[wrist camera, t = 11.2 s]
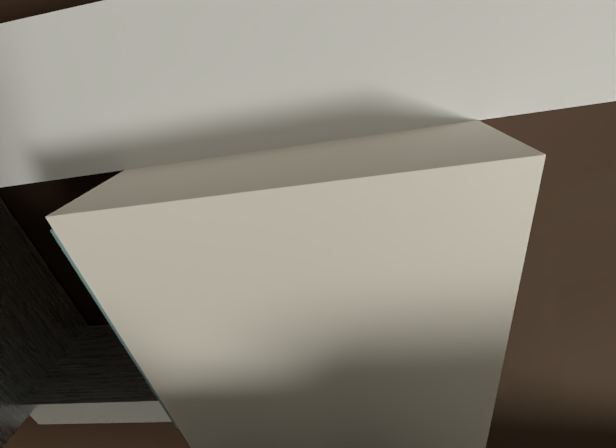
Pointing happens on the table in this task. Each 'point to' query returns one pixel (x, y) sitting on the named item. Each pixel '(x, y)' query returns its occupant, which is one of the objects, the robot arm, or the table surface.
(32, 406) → the cleat
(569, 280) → the table surface
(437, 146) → the cream matte cube
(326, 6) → the wall board
